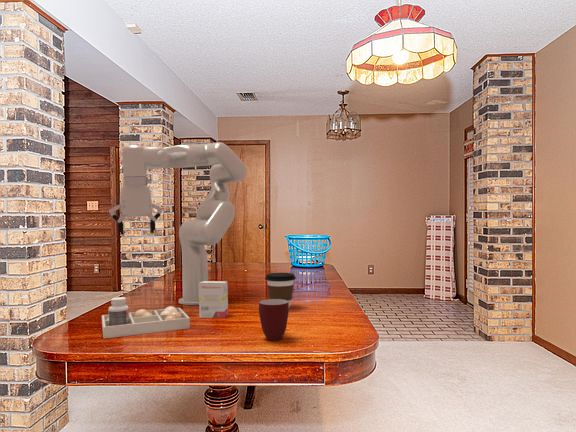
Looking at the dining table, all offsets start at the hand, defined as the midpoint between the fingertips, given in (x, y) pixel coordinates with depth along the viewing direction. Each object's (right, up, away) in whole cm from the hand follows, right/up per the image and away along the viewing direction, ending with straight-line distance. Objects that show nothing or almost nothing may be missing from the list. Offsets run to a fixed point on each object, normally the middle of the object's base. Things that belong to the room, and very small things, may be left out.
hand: (137, 233), depth 149 cm
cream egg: (+14, -27, -10) cm, 32 cm away
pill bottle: (+3, -27, -23) cm, 36 cm away
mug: (+47, -27, -28) cm, 61 cm away
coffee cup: (+48, -27, +9) cm, 56 cm away
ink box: (+27, -28, -4) cm, 39 cm away
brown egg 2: (+17, -27, -17) cm, 36 cm away
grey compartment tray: (+8, -28, -17) cm, 33 cm away
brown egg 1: (+7, -27, -14) cm, 31 cm away
